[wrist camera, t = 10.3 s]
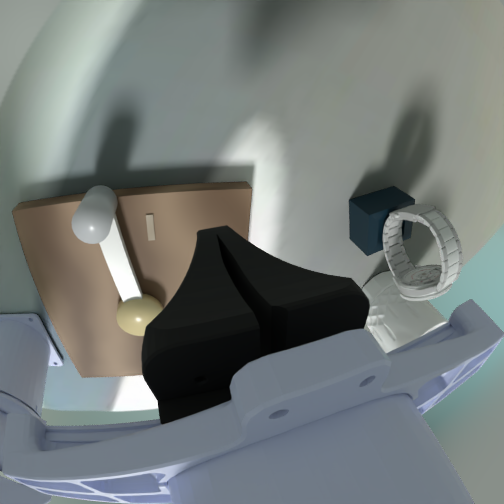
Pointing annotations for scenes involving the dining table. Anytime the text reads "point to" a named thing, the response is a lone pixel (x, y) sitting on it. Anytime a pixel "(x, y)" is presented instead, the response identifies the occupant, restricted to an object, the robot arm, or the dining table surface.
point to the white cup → (397, 314)
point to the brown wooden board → (140, 253)
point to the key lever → (115, 257)
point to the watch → (399, 229)
